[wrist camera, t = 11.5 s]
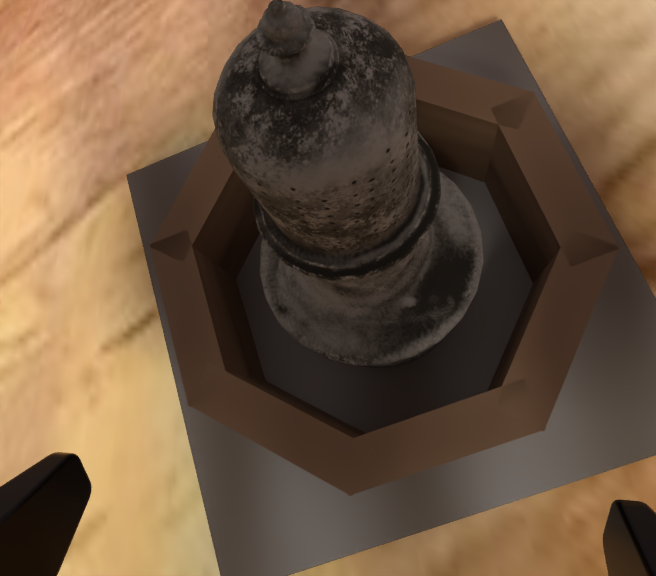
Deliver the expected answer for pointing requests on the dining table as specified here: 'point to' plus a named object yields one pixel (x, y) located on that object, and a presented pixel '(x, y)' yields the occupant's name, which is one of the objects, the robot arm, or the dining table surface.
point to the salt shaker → (345, 188)
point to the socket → (428, 370)
